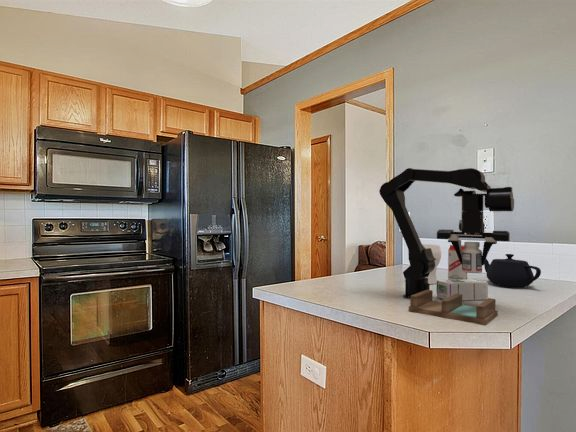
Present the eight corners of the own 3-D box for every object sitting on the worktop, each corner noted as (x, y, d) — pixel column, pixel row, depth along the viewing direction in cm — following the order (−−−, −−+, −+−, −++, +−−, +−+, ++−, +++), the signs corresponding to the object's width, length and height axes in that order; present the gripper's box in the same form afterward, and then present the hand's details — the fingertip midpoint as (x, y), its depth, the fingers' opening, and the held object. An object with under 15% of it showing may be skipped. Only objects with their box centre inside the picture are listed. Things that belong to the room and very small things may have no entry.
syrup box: (488, 281, 113) (447, 281, 110) (488, 300, 113) (447, 301, 110) (475, 278, 119) (436, 279, 116) (475, 296, 118) (436, 297, 115)
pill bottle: (479, 271, 107) (480, 241, 107) (484, 273, 102) (484, 242, 102) (460, 270, 109) (460, 241, 109) (463, 272, 104) (463, 242, 104)
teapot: (554, 290, 131) (554, 256, 131) (525, 292, 125) (525, 257, 125) (493, 279, 154) (493, 250, 154) (466, 281, 148) (466, 251, 148)
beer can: (466, 292, 124) (466, 246, 124) (446, 290, 127) (446, 245, 127) (468, 289, 129) (468, 245, 129) (449, 287, 133) (449, 244, 133)
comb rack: (408, 310, 98) (408, 295, 98) (425, 303, 107) (425, 289, 107) (486, 325, 85) (486, 307, 85) (497, 315, 94) (497, 299, 94)
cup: (444, 285, 137) (444, 246, 137) (415, 284, 139) (415, 245, 139) (437, 280, 148) (437, 244, 148) (410, 279, 150) (410, 243, 150)
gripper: (510, 212, 107) (510, 264, 107) (443, 212, 118) (443, 259, 117) (509, 211, 98) (508, 268, 98) (436, 211, 108) (436, 263, 108)
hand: (471, 264), depth 106 cm, fingers closed on pill bottle, 5 cm apart
